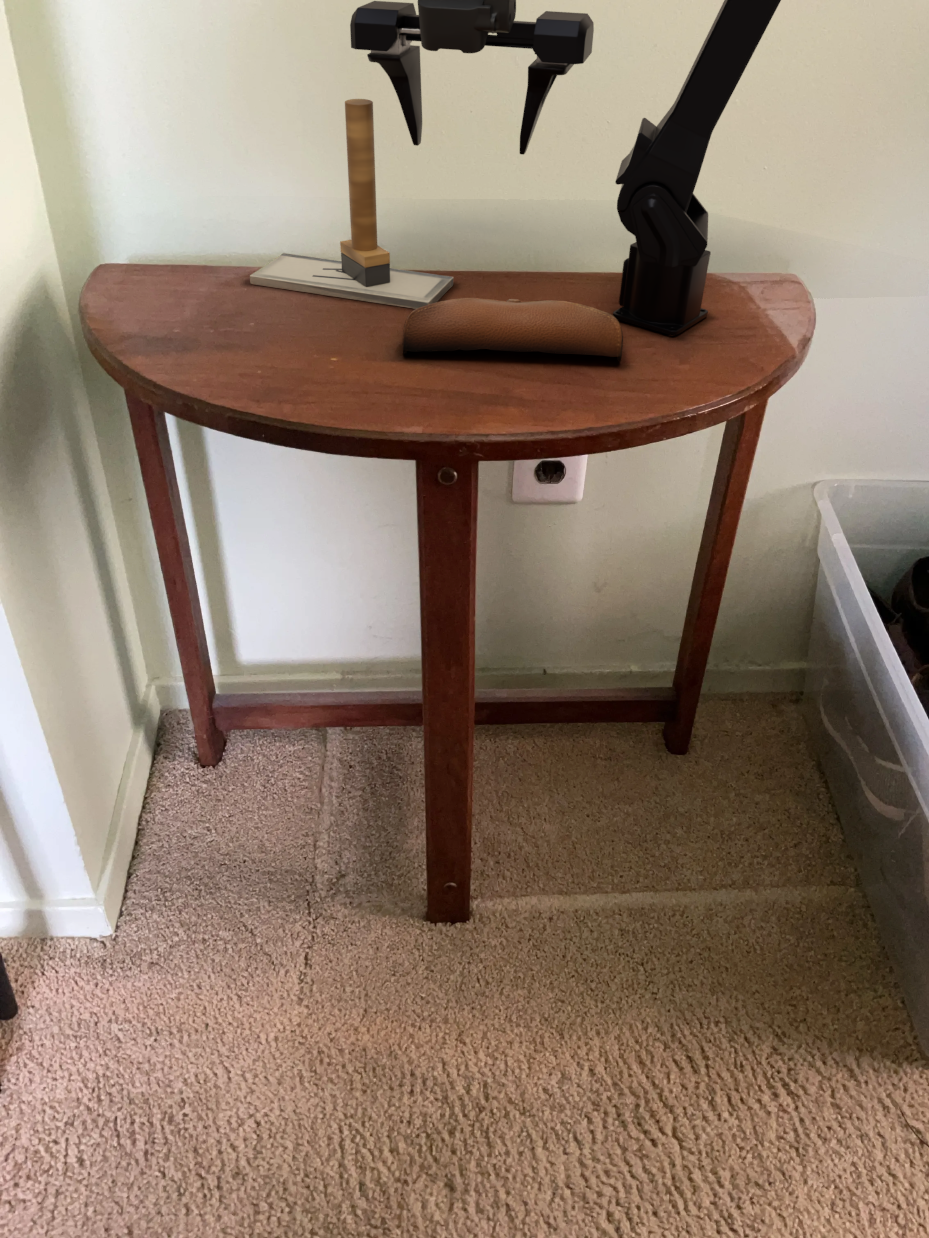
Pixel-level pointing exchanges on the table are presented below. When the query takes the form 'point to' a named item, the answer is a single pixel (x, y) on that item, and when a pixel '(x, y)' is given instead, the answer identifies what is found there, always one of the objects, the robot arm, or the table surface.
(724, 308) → the table surface
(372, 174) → the tan piece
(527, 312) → the sunglasses case
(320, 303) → the table surface
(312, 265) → the board
